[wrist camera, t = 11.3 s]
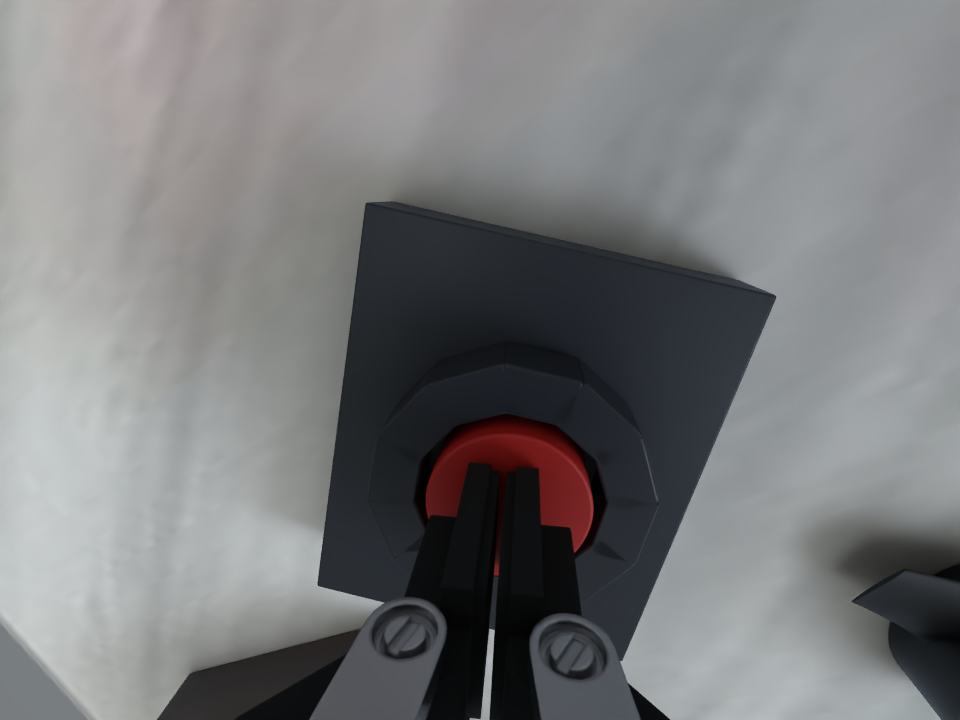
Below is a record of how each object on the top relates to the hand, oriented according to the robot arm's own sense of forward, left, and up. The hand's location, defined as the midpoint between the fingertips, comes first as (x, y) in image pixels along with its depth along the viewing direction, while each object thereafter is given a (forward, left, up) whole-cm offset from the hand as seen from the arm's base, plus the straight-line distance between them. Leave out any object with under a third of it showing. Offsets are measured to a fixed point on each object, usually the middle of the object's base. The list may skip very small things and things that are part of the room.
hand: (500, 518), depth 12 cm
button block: (0, 0, -4) cm, 4 cm away
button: (0, 0, -2) cm, 2 cm away
